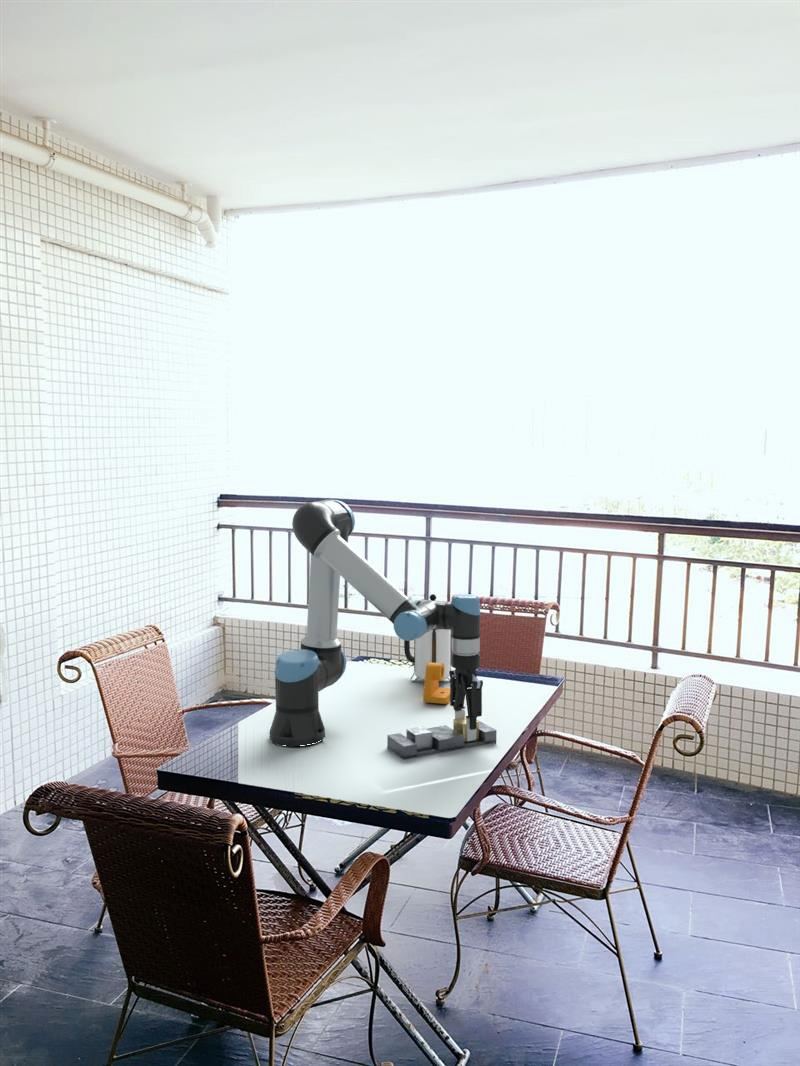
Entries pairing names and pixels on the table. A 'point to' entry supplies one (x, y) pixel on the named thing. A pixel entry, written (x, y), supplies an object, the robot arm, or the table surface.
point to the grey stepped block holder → (439, 741)
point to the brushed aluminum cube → (420, 738)
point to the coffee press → (430, 650)
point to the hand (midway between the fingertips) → (465, 736)
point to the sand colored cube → (463, 727)
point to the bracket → (435, 684)
